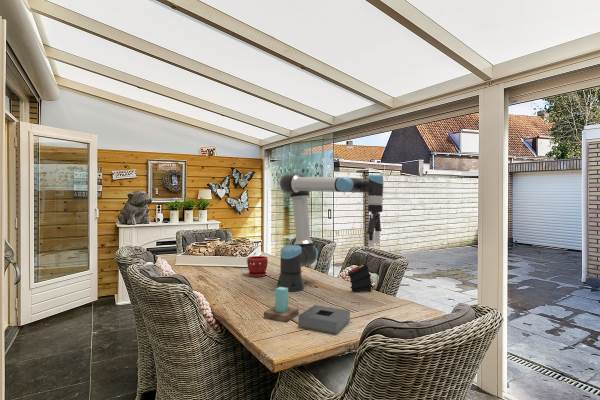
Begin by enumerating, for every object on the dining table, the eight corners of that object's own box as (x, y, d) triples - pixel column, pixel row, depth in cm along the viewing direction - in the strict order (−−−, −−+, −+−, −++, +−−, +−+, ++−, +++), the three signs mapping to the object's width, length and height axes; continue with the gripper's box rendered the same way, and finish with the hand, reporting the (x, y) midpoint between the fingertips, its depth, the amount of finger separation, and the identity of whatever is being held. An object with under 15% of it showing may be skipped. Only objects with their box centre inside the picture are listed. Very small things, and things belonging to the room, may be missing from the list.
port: (298, 327, 143) (298, 315, 142) (314, 315, 157) (314, 304, 157) (336, 334, 136) (336, 322, 135) (349, 321, 150) (349, 310, 150)
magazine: (377, 288, 198) (367, 264, 196) (357, 299, 195) (346, 275, 193) (373, 286, 202) (363, 262, 200) (354, 297, 199) (343, 274, 197)
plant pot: (271, 275, 233) (271, 256, 233) (258, 279, 222) (258, 259, 222) (255, 272, 240) (256, 254, 240) (242, 276, 229) (242, 257, 229)
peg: (275, 316, 154) (275, 288, 154) (279, 314, 158) (280, 286, 157) (283, 318, 152) (283, 290, 152) (287, 315, 156) (288, 287, 156)
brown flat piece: (263, 317, 152) (264, 311, 152) (276, 310, 162) (276, 305, 162) (286, 322, 148) (286, 316, 148) (298, 314, 158) (298, 308, 157)
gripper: (377, 205, 174) (375, 248, 174) (387, 204, 197) (385, 242, 197) (361, 204, 177) (360, 247, 177) (373, 203, 200) (372, 241, 200)
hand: (373, 245), depth 187 cm, fingers open, 13 cm apart
